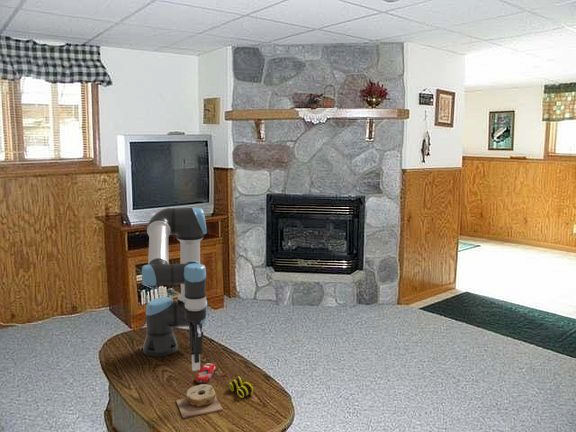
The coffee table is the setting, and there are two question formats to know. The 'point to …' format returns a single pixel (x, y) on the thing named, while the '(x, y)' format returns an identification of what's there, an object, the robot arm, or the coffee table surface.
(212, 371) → the race car
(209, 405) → the walnut board
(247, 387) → the opera glasses
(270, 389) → the coffee table surface
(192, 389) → the stone disc
